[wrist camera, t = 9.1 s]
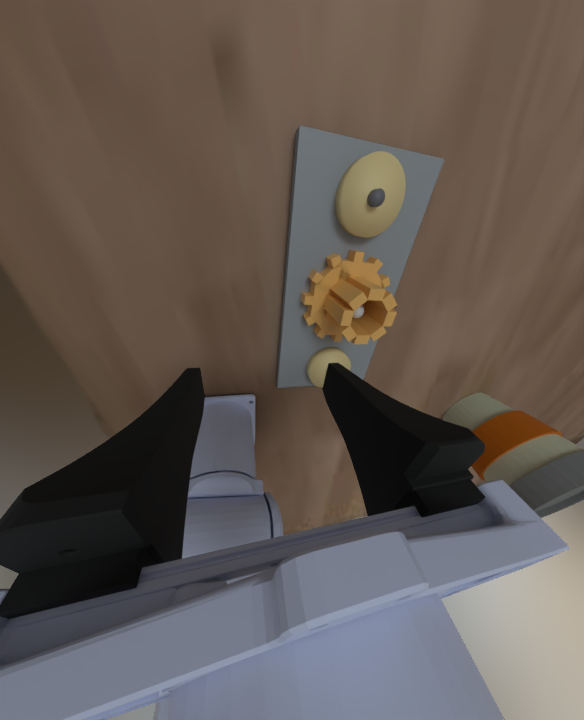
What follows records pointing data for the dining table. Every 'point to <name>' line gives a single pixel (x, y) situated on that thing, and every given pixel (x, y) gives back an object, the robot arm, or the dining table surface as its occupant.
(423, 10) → the dining table surface
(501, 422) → the reusable coffee cup
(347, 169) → the gear board
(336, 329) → the amber gear
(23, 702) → the robot arm
